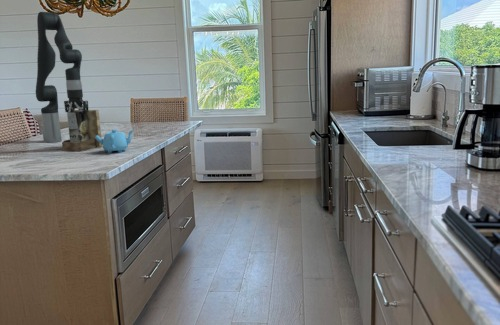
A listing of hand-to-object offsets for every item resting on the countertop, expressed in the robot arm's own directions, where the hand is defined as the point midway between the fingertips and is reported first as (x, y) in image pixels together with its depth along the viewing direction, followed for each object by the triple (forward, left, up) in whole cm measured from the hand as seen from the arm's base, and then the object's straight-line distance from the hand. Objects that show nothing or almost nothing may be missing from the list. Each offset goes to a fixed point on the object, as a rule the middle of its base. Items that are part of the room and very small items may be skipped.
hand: (77, 120), depth 231 cm
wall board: (0, +6, -15) cm, 16 cm away
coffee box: (0, 0, -11) cm, 11 cm away
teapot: (+25, -3, -15) cm, 30 cm away
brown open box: (0, 0, -15) cm, 15 cm away
